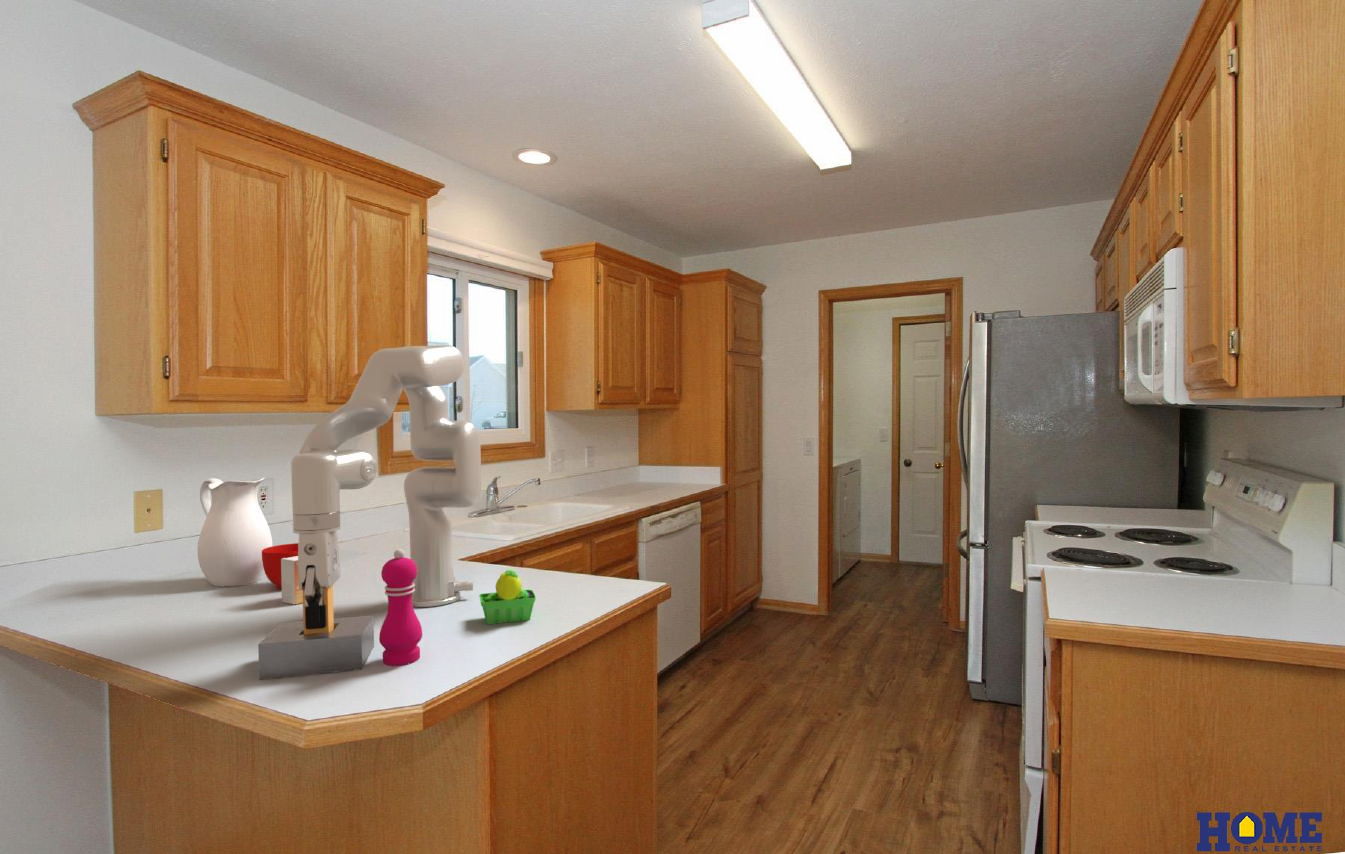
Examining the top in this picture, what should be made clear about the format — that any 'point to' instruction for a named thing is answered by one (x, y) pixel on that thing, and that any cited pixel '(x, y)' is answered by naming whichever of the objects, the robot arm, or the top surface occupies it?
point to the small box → (290, 581)
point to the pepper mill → (400, 612)
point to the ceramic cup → (277, 561)
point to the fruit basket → (507, 600)
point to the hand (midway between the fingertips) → (319, 623)
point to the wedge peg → (329, 611)
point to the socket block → (316, 648)
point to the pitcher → (232, 533)
